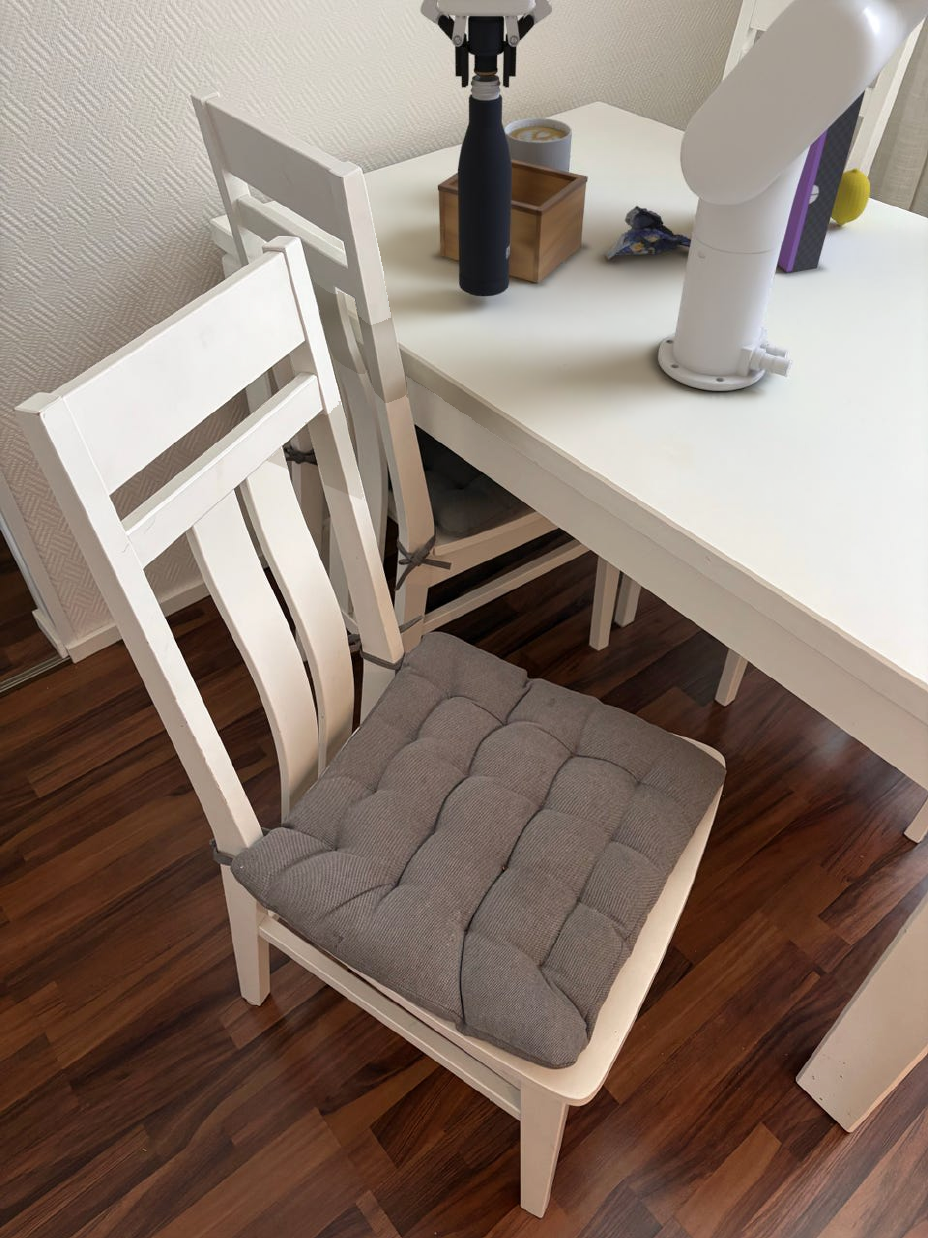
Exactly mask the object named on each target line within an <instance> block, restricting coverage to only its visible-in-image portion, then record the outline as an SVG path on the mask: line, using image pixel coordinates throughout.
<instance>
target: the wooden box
mask: <svg viewBox="0 0 928 1238" xmlns="http://www.w3.org/2000/svg"><path fill="white" fill-rule="evenodd" d="M511 164H512V192H511V228H510V263H509V276H510V277H515V278H518V279H521V280H526V281H528V282H533V283H535V284H539V283H540V282H542V281H543V280H544V279H545V278H546V277H547V276H548V275H550V273H552V272H553V271H554V270H556V269H557V268H558V267H559V266H561V265H562V264H563V263H564V262H565V261H566V260H567V259H569V258H570V257H571V256H572V255H574V254H575V253H576V252H577V251H579V249H581V247H582V237H583V228H584V227H583V226H584V215H585V213H584V212H585V202H586V190H587V183H588V179H589V176H587V175H582V174H578V173H573V172H570V171H569V172H565V171H561V170H556V169H552V168H548V167H543V166H539V165H535V164H530V163H526V162H522V161H517V160H513V159H511ZM437 191H438V209H439V210H438V215H439V217H438V219H439V254H440V255H439V256H440V257H443V258H447V259H450V260H454V261H458V262H459V232H458V172H456V173H455V174H453V175H452V176H450V177H448V178H447V179H445V180H444V181H442V182H441V183H439V184H437Z"/></svg>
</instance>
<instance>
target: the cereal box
mask: <svg viewBox="0 0 928 1238" xmlns="http://www.w3.org/2000/svg"><path fill="white" fill-rule="evenodd" d="M760 37H761V36H758V37H757V40H758V39H759V38H760ZM757 40H756V41H757ZM866 90H867V88H866V89H865V91H864V92H863V93H862V94H861V95H860V96H859V97H858V98H857V99H856V100H855V101H854V102H853V103H852V104H851V105H850V106H849V107H848V108H847V109H846V110H845V112H844V113H843V114H842V115H841V116H840V117H839V118H838V119H837V120H836V121H835V122H834V123H833V124H832V125H830V126H829V127H828V128H827V129H826V130H825V131H824V132H823V133H822V134H821V135H820V136H819V137H818V138H817V139H816V140H815V141H814V142H813V143H812V144H811V145H810V148H809V152H808V155H807V158H806V161H805V164H804V167H803V170H802V173H801V176H800V180H799V183H798V186H797V189H796V193H795V196H794V200H793V203H792V207H791V211H790V215H789V219H788V223H787V227H786V231H785V235H784V239H783V242H782V246H781V250H780V254H779V258H778V263H777V268H779V269H780V270H782V271H783V272H784V273H786V274H790V273H796V272H802V271H807V270H812V269H817V268H818V266H819V263H820V258H821V254H822V251H823V247H824V244H825V241H826V236H827V232H828V229H829V225H830V222H831V219H832V218H831V215H832V211H833V207H834V204H835V200H836V196H837V193H838V189H839V185H840V182H841V178H842V174H843V173H844V172H845V167H846V163H847V160H848V156H849V153H850V149H851V145H852V142H853V138H854V134H855V130H856V126H857V122H858V119H859V116H860V112H861V108H862V105H863V101H864V98H865V94H866Z"/></svg>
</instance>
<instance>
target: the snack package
mask: <svg viewBox="0 0 928 1238" xmlns="http://www.w3.org/2000/svg"><path fill="white" fill-rule="evenodd" d="M624 222H625V223H626V225H628V226H629V227H631V228H630V229H628V230H627V231H625V232H624V233H622V234H621V235H620V237H619V238H618V239H617V241H616V243H615V245H614V246H613V247H611V248H610V250H609V251H607V252H604V256H605V257H606V258H607V261H610V259H612V258H613V257H614V256H624V255H625V256H629V255H631V256H632V255H656V254H660V253H662V252H666V251H668V250H670V249H674V248H676V247H679V246H682V247H685V248H690V244H691V238H689V237H688V236H684V235H682V234H678V233H676V234H675V233H674V232H673V231H672V229H670V228H668V227H667V226H666V225H664V224H665V223H664V221H663V219H662V216H661V215H659V214H658V213H657V212H655V211H653V210H648V209H647V208H646V207H643V208H641V207H640V206H638V205H636V206H635V207H633V208H632V209H631V210H629V211H628V212H627V213H626V216H625V218H624ZM685 253H686V254H688V251H685Z"/></svg>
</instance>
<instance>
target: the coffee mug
mask: <svg viewBox="0 0 928 1238" xmlns="http://www.w3.org/2000/svg"><path fill="white" fill-rule="evenodd" d="M503 128H504V132H505V135H506V139H507V142H508V146H509V151H510V157H511V159H513V160H517V161H522V162H526V163H530V164H535V165H539V166H543V167H548V168H552V169H556V170H561V171H565V172H569V173H570V166H571V165H570V164H571V150H572V139H573V138H572V135H573V129H572V128H571V126H570V125H569V124H567V123H566V122H563V121H561V120H558V119H555V118H554V119H553V118H547V117H527V118H521V119H516V120H513V121H511V122H509V123H507V124H506V125H505V126H504V127H503Z"/></svg>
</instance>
